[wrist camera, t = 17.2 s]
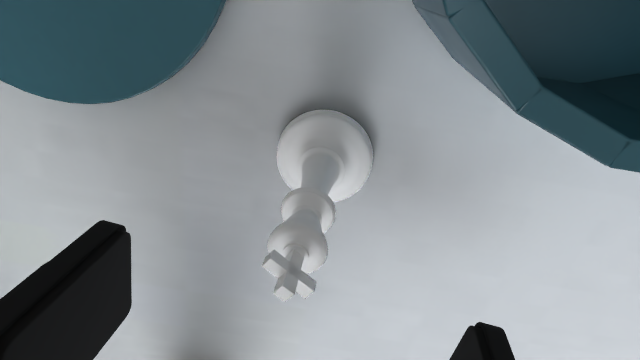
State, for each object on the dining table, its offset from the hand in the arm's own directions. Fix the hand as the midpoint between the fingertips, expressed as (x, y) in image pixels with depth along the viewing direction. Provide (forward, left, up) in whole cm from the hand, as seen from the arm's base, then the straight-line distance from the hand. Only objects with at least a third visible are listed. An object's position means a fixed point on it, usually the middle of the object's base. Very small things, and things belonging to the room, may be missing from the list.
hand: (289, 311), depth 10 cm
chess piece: (0, 0, -11) cm, 11 cm away
